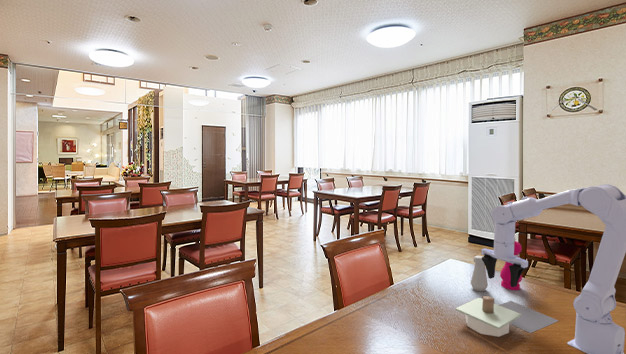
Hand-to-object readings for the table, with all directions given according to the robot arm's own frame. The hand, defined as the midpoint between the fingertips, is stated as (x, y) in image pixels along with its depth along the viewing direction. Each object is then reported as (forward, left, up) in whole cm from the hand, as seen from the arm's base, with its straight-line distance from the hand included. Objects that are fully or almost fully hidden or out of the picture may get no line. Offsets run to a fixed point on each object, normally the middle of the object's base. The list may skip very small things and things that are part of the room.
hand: (502, 281), depth 107 cm
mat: (-5, -2, -10) cm, 11 cm away
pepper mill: (+10, -21, -10) cm, 25 cm away
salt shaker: (+14, -8, -10) cm, 19 cm away
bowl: (-4, +13, -10) cm, 17 cm away
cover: (-4, +12, -6) cm, 14 cm away
